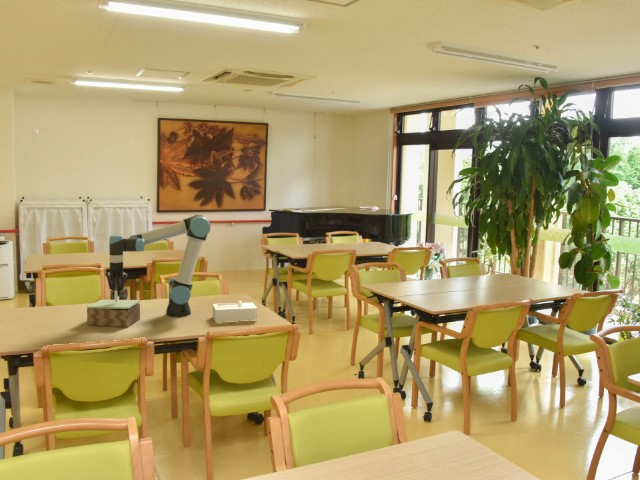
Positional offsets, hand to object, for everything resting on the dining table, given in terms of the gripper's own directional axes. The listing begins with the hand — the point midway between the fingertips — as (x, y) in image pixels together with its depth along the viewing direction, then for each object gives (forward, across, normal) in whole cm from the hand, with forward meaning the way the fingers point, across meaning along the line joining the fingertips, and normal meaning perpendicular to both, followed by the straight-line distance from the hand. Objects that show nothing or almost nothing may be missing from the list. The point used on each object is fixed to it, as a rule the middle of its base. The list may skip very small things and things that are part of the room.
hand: (116, 301), depth 343 cm
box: (+13, +2, 0) cm, 13 cm away
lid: (+2, +2, 0) cm, 3 cm away
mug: (+13, +8, -22) cm, 27 cm away
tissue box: (+13, -65, -21) cm, 70 cm away
